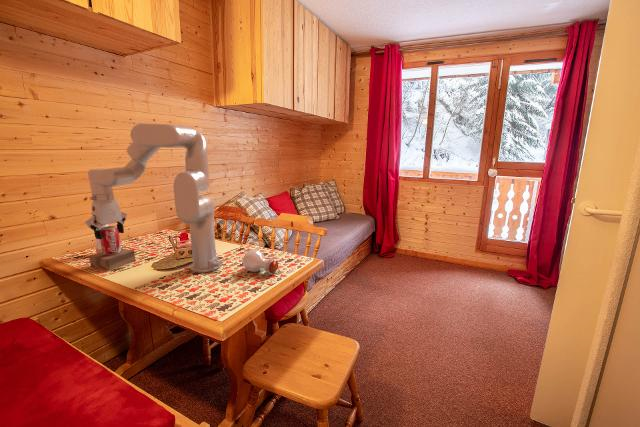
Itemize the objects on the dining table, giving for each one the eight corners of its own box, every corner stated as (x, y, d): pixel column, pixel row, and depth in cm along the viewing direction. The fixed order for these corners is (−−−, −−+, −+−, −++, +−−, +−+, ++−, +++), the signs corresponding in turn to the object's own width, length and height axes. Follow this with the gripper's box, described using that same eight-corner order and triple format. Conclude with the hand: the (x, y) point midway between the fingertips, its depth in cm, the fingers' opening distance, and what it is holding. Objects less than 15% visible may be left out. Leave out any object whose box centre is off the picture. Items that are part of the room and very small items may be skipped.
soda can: (125, 250, 137) (121, 225, 134) (113, 256, 130) (109, 230, 127) (111, 250, 137) (107, 225, 135) (98, 255, 131) (94, 229, 128)
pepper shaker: (99, 257, 143) (93, 218, 139) (94, 254, 147) (87, 216, 143) (117, 253, 149) (111, 215, 145) (111, 250, 153) (105, 213, 149)
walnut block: (135, 260, 138) (134, 250, 137) (109, 270, 127) (108, 259, 126) (117, 257, 142) (115, 247, 141) (91, 266, 131) (89, 256, 130)
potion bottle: (245, 270, 130) (275, 280, 125) (234, 265, 122) (265, 275, 116) (254, 251, 133) (283, 259, 128) (243, 244, 124) (274, 253, 119)
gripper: (88, 201, 119) (95, 242, 123) (128, 194, 135) (134, 231, 139) (75, 200, 122) (83, 240, 125) (116, 194, 138) (123, 230, 141)
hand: (110, 235), depth 132 cm, fingers open, 9 cm apart
